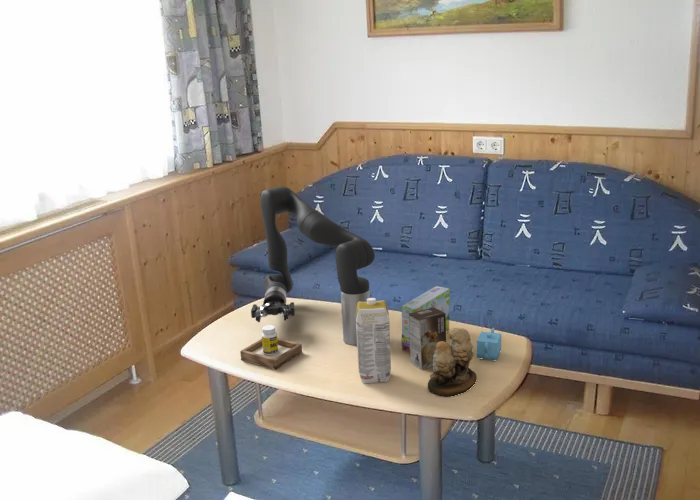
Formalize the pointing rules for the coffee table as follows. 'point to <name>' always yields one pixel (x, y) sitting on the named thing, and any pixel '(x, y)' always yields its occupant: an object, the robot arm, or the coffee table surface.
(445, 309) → the snack box
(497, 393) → the coffee table surface
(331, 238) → the robot arm
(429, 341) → the coffee box
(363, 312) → the juice carton
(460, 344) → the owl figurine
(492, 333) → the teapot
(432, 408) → the coffee table surface
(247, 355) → the walnut tray
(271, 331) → the supplement bottle
